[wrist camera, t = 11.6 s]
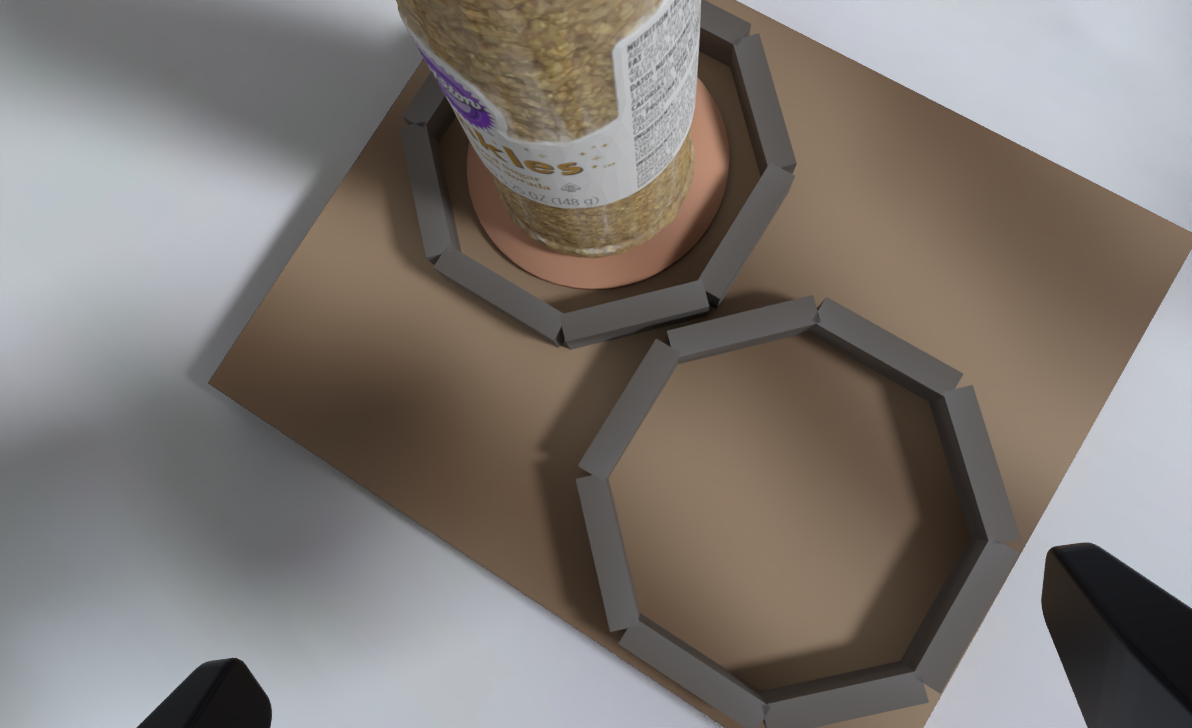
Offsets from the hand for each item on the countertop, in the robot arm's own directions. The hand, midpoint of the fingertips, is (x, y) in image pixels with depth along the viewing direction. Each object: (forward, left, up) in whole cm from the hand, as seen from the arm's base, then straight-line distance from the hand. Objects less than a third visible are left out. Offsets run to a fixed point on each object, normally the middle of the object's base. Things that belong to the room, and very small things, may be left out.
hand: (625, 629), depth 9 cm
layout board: (+5, +2, -10) cm, 11 cm away
